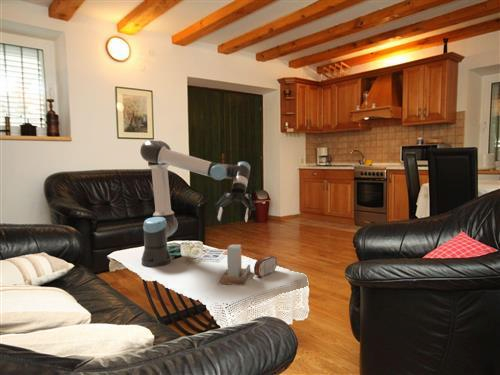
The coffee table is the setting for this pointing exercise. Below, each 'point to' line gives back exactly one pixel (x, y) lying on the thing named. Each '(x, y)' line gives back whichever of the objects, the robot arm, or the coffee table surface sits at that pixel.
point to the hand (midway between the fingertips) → (232, 219)
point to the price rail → (245, 273)
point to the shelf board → (233, 278)
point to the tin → (265, 265)
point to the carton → (234, 260)
